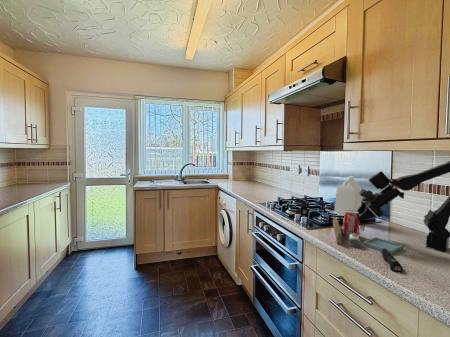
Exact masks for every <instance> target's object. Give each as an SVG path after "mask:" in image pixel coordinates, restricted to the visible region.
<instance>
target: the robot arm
mask: <svg viewBox="0 0 450 337" xmlns="http://www.w3.org/2000/svg"><path fill="white" fill-rule="evenodd" d="M448 173H450V160H449V161H447V162H445V163H441V164H440V165H436V166H433V167H431V168H429V169H426V170H424V171H421V172H418V173H414V174H407V175H403V176H399V177H397V178H391V179H390V178H388V176H386V175H385V173H384V172H383V171H381V170H380V171H379V172H377V173H375V174H374V175H372V176H370V178H368V181H369V182H370V184H372V186H374V187H375V188H376V190H379V189H380V190H381V191H380V192H375V193H373V191H372V190H370V189H368V190H366V189H364V188H362V190H361V192H360V193H359V194H360V195H361V196H362V201H361V206H360V207H359V209H358V210H357V212H359V215H360V214H361V215H360V216H359V217H358V218H357V219H358V220H359V221H360V220H361V221H364V220H369V219H377V218H381V217H382V216H383V214H384V213H383V211H382V208H383V207H384V206H389V204H390V202H392V201H393V200H395V199H396V198H397V197H399V198H401V199H405V192H407V191H410V190H412V189H414V188H416V187H417V186H419V185H420V184H422V183H423V182H427V181H430V180H431V179H434V178H439V177H440V176H443V175H446V174H448ZM393 186H394V187H393ZM400 190H401V191H400ZM449 220H450V195H449V196H448V197H447V198H446V200H445V201H444V202H443V203H442V204H441V205H440V206H439V207H438V208H437V209H436V210H432V209H429V210H428V212H427V214H425V215H424V216H423V224H424V226H425V227H426V228H427V229H428V231H429V232H428V234H427V235H426V240H425V241H426V242H425V244H426V245H425V247H426V248H427V249H432V250H436V251H439V252H443V253H445V252H447V251H449V250H450V247H449V245H450V244H449V243H450V231H449V229H447V228H446V227H447V226H448V223H449V222H450V221H449ZM361 221H360V222H361Z"/></svg>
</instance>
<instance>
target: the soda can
mask: <svg viewBox="0 0 450 337" xmlns="http://www.w3.org/2000/svg"><path fill="white" fill-rule="evenodd" d="M359 216H360V215H359V212H357V211H353V210H346V212H345V213H344V218H343V221H342V234H343V235H344V236H345V237H346V232H348V233H356V234H359V233H360V225H361V224H360V223H361V221H359V220H358V219H357V218H358V217H359Z"/></svg>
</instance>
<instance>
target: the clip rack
mask: <svg viewBox="0 0 450 337" xmlns="http://www.w3.org/2000/svg"><path fill="white" fill-rule="evenodd" d="M332 227H333V231H334V232H333V233H334V237H335V241H336V244H337V245H340V244H341V245H342V230H341V227H340V224H339V220H337V217H334V216H333V221H332ZM350 234H351V233H348V232H346V236H345V240H347V242H348V245H350V246H349V247H353V246H354V248H361V240H360V239H359V240H357V239H350ZM355 234H356V233H355ZM357 235H358V236H359V237H360V235H359V234H357ZM349 239H350V243H349Z"/></svg>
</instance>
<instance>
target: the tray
mask: <svg viewBox="0 0 450 337" xmlns="http://www.w3.org/2000/svg"><path fill="white" fill-rule="evenodd" d="M362 246H364V247H367V248H369V249H373V250H376V251H378V252H381V253H382V250H383V249H384V248H385V249H387V250H388V252H389V253H390V254H391V255H393V254H396V253H398V252H400V251H401V250H403V249H404V245H403V244H400V243H397V242H393V241H390V240H386V239H382V238H380V237H376V236H375V237H373V238H370V239H367V240H365V241H362Z"/></svg>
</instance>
